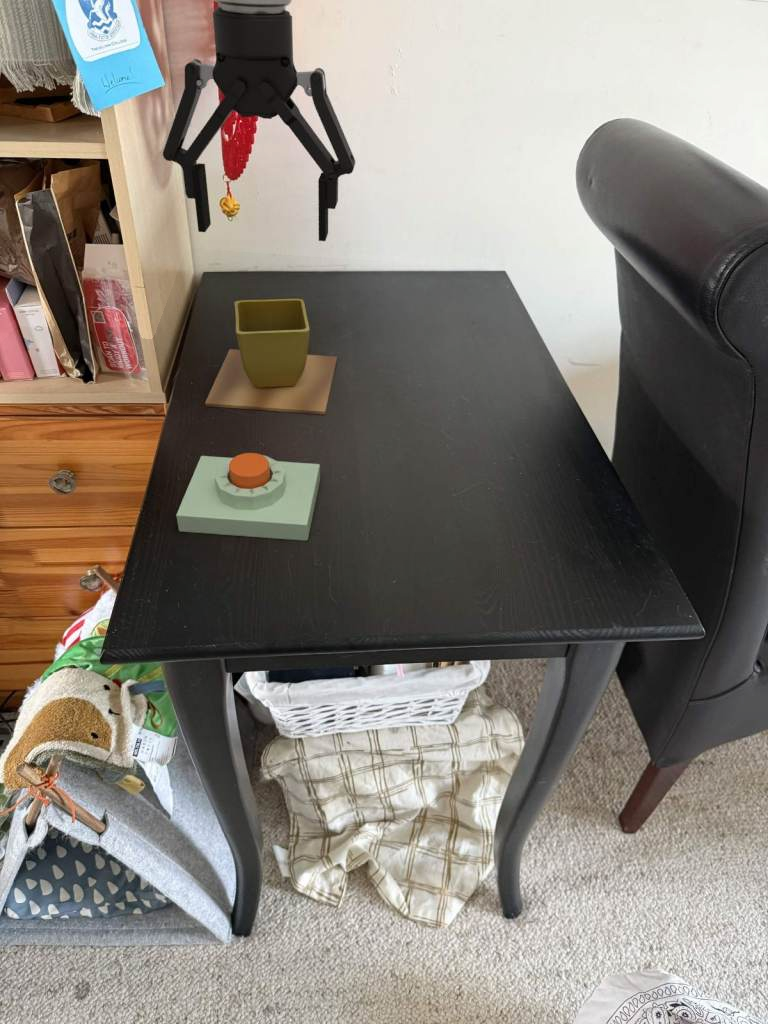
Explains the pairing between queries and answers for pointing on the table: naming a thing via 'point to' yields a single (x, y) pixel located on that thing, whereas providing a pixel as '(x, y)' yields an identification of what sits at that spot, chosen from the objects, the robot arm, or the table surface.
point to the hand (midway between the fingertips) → (264, 232)
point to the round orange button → (249, 470)
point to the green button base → (250, 501)
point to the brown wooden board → (274, 388)
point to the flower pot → (272, 340)
